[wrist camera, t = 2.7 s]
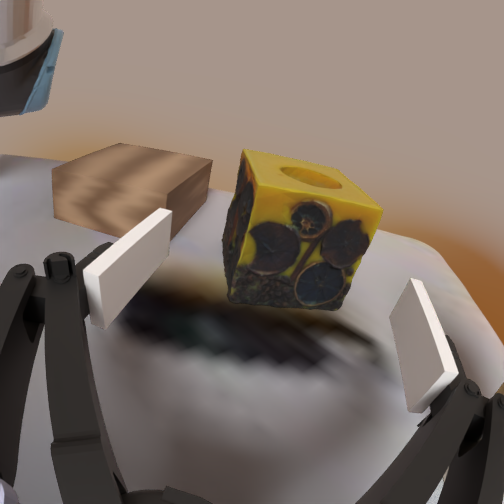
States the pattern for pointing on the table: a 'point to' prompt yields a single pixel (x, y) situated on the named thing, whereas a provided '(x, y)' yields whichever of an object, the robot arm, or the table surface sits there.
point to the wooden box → (129, 188)
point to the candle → (295, 233)
